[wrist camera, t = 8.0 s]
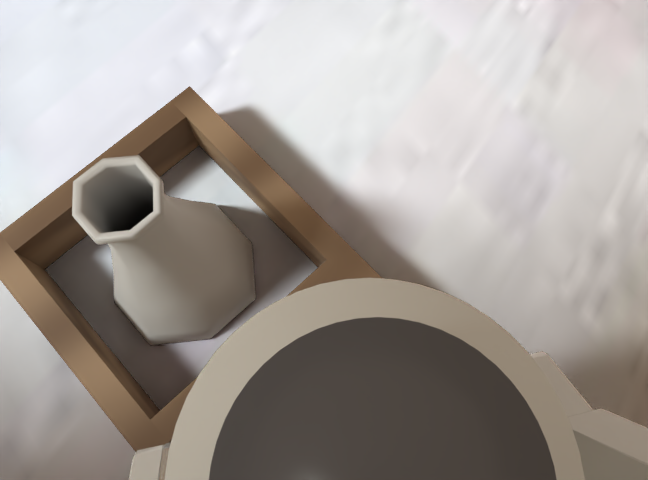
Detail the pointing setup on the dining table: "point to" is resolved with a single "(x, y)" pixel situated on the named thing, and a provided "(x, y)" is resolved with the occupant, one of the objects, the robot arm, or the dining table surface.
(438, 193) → the dining table surface
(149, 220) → the flask
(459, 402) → the white capped tube
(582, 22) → the dining table surface
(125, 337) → the dining table surface
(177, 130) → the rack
